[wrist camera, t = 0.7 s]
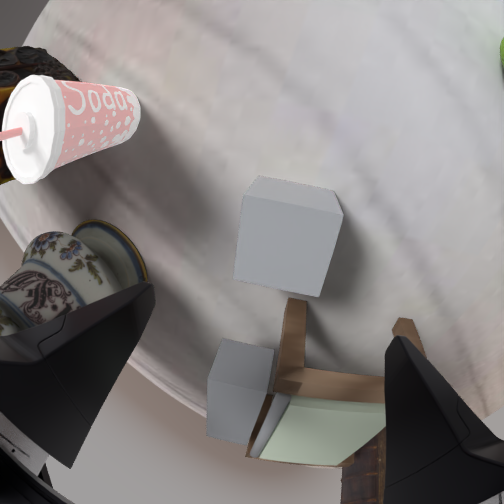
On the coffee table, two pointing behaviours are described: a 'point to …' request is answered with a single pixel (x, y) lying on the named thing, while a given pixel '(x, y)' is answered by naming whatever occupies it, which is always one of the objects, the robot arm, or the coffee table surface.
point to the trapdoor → (282, 412)
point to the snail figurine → (502, 51)
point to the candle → (16, 69)
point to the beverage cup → (63, 123)
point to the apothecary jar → (68, 274)
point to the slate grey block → (286, 235)
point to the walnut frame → (321, 372)
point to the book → (366, 473)
